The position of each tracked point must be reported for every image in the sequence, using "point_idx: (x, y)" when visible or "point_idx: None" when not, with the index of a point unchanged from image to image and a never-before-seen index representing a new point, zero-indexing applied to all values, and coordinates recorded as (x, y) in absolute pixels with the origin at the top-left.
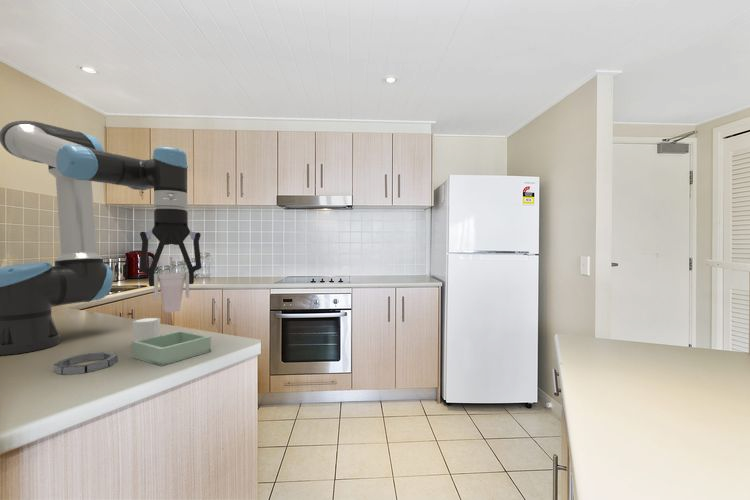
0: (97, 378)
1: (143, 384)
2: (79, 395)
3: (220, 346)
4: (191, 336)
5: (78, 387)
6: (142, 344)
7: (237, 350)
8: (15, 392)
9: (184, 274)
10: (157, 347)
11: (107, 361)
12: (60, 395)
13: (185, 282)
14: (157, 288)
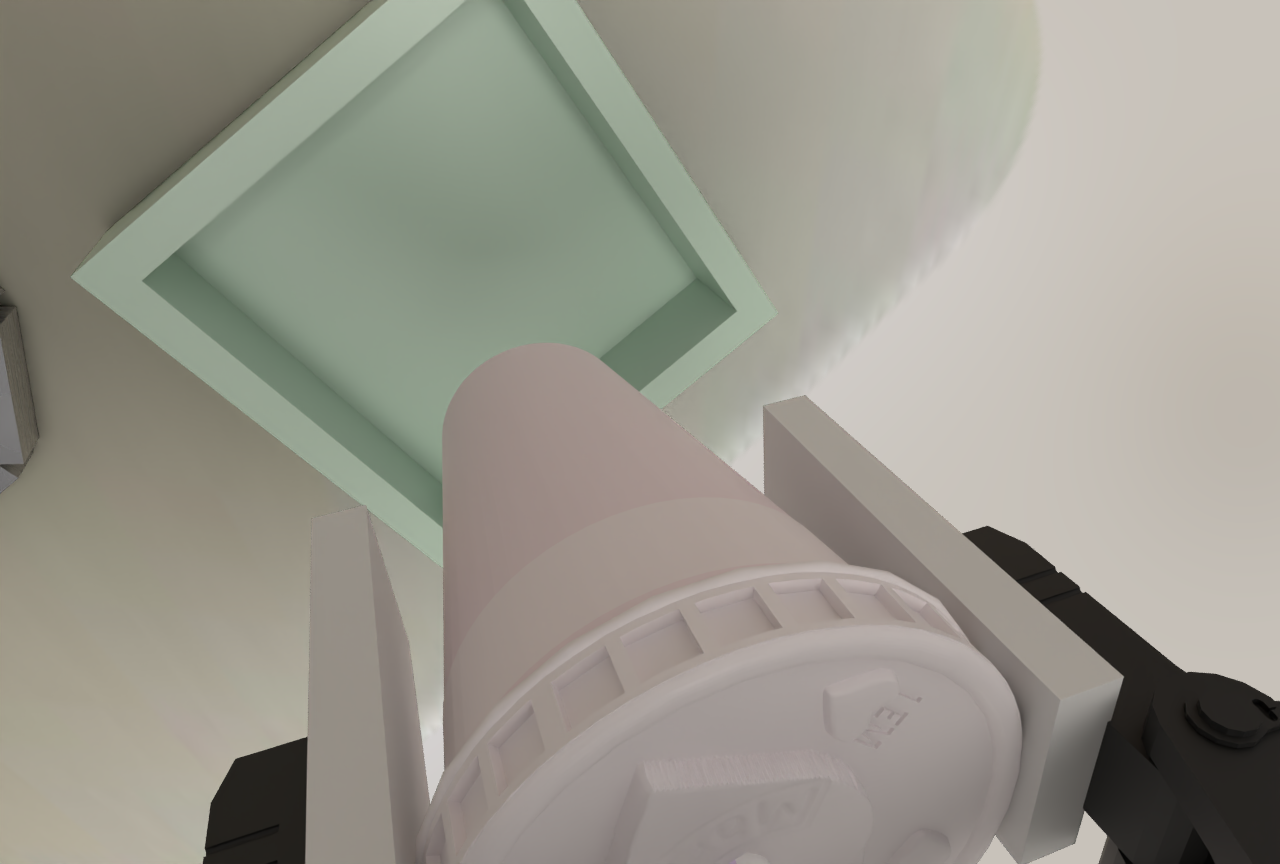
0: (104, 642)
1: (424, 735)
2: (160, 821)
3: (800, 144)
4: (621, 150)
5: (76, 745)
6: (248, 415)
7: (881, 303)
8: None
9: (974, 831)
10: (417, 532)
11: (17, 477)
12: (49, 820)
13: (894, 548)
14: (422, 782)
